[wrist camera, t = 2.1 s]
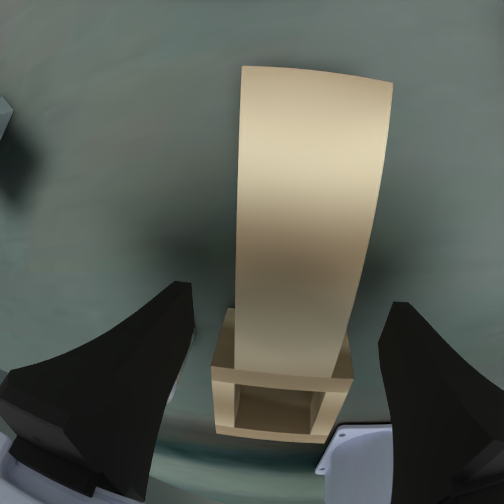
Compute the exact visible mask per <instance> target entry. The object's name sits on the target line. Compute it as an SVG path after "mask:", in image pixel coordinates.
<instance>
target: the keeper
mask: <svg viewBox="0 0 504 504" xmlns="http://www.w3.org/2000/svg"><path fill="white" fill-rule="evenodd" d="M13 111H14V110H13V109H12V107H11V106H10V105H9V104H8V102H7V101H6V100H5V99H4V97H0V140H1V138H2V136H3V133H4V131H5V129H6V126H7V124H8V122H9V120H10V118H11V116H12V113H13Z"/></svg>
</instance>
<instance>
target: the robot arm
mask: <svg viewBox="0 0 504 504" xmlns="http://www.w3.org/2000/svg"><path fill="white" fill-rule="evenodd" d="M194 327H195V323H194V312H193V300H192V287H191V283H188V282H180V281H174V282H173V283H172V284H170V285H169V286H168V287H167V288H165V289H164V290H163V291H162V292H160V293H159V294H158V295H157V296H155V297H154V298H153V299H152V300H151V301H149V302H148V303H147V304H145V305H144V306H143V307H142V308H140V309H139V310H138V311H137V312H135V313H134V314H132V315H131V316H130V317H128V318H127V319H125V320H124V321H123V322H121V323H120V324H118V325H117V326H115V327H114V328H112V329H111V330H109V331H107V332H106V333H104V334H102V335H101V336H99V337H97V338H95V339H94V340H92V341H90V342H88V343H86V344H84V345H82V346H80V347H78V348H75V349H73V350H71V351H69V352H67V353H64V354H62V355H59V356H57V357H54V358H52V359H49V360H46V361H43V362H40V363H37V364H33V365H29V366H26V367H22V368H18V369H14V370H11V371H10V372H9V373H8V375H7V376H6V378H5V379H4V380H3V382H2V383H1V385H0V416H1V417H2V418H3V419H4V421H5V422H6V423H7V424H8V425H9V426H10V428H11V429H12V430H13V431H14V432H15V433H16V434H17V437H16V439H15V440H14V441H13V440H12V439H10V438H9V437H8V436H6V435H5V434H3V433H1V432H0V504H145V503H143V502H144V501H145V496H146V489H147V484H148V478H149V472H150V467H151V462H152V457H153V453H154V448H155V444H156V440H157V436H158V432H159V428H160V424H161V420H162V417H163V413H164V410H165V406H166V404H167V401H168V398H169V395H170V393H171V391H172V388H173V386H174V383H175V381H176V379H177V376H178V374H179V371H180V369H181V367H182V364H183V362H184V359H185V357H186V355H187V352H188V350H189V346H190V343H191V339H192V335H193V331H194ZM378 348H379V360H380V368H381V373H382V377H383V382H384V387H385V391H386V396H387V401H388V406H389V411H390V416H391V423H392V424H380V425H342V426H339V427H338V428H337V430H336V432H335V434H334V436H333V438H332V440H331V442H330V443H329V445H328V447H327V449H326V451H325V453H324V455H323V456H322V458H321V460H320V462H319V464H318V465H317V467H316V469H315V474H319V475H325V502H324V504H504V391H503V390H502V389H500V388H499V387H498V386H496V385H495V384H493V383H492V382H490V381H489V380H488V379H486V378H485V377H484V376H483V375H481V374H480V373H479V372H478V371H477V370H475V369H474V368H473V367H472V366H471V365H469V364H468V363H467V362H466V361H465V360H464V359H463V358H462V357H461V356H460V355H459V354H458V353H457V352H456V351H455V350H454V349H452V348H451V347H450V345H449V344H448V343H447V342H446V341H445V340H444V339H443V338H442V337H441V336H440V335H439V334H438V333H437V332H436V331H435V330H434V329H433V328H432V326H431V325H430V324H429V323H428V322H427V321H426V320H425V319H424V318H423V317H422V316H421V315H420V314H419V313H418V311H417V310H416V309H415V308H414V307H413V306H412V305H410V304H409V303H408V302H393V304H392V307H391V310H390V312H389V315H388V318H387V321H386V323H385V326H384V329H383V331H382V334H381V337H380V339H379V342H378Z"/></svg>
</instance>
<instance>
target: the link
mask: <svg viewBox="0 0 504 504" xmlns="http://www.w3.org/2000/svg"><path fill="white" fill-rule="evenodd" d="M392 90H393V83H390V82H386V81H381V80H375V79H370V78H364V77H359V76H352V75H346V74H339V73H332V72H324V71H315V70H305V69H294V68H281V67H263V66H242V77H241V101H240V128H239V158H238V192H237V231H236V280H235V308H227V312H226V315H225V318H224V322H223V325H222V329H221V332H220V335H219V339H218V342H217V346H216V349H215V352H214V356H213V359H212V363H211V379H212V391H213V403H214V415H215V426H216V433H219V434H225V435H232V436H239V437H247V438H255V439H264V440H275V441H287V442H303V443H325V441H326V439H327V437H328V435H329V433H330V431H331V429H332V427H333V425H334V423H335V420H336V418H337V416H338V414H339V412H340V410H341V407H342V405H343V403H344V401H345V398H346V396H347V394H348V392H349V389H350V387H351V384H352V382H353V380H354V376H353V369H352V361H351V354H350V347H349V340H348V334H347V325H348V322H349V318H350V315H351V311H352V308H353V304H354V300H355V297H356V293H357V289H358V285H359V281H360V277H361V273H362V269H363V265H364V261H365V257H366V252H367V248H368V243H369V239H370V234H371V230H372V225H373V220H374V215H375V210H376V205H377V199H378V194H379V188H380V182H381V176H382V170H383V164H384V157H385V151H386V143H387V136H388V128H389V120H390V111H391V101H392Z"/></svg>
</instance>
